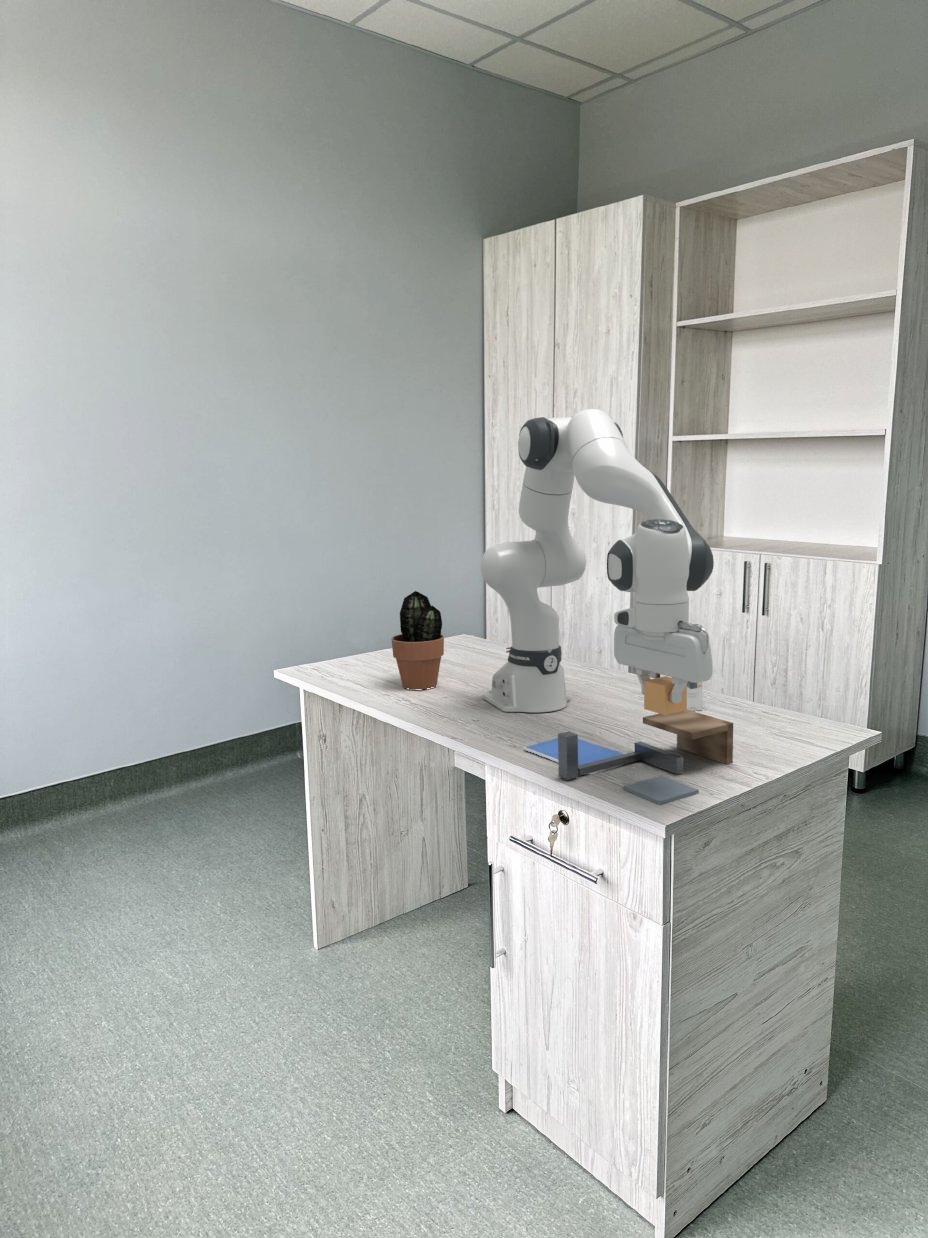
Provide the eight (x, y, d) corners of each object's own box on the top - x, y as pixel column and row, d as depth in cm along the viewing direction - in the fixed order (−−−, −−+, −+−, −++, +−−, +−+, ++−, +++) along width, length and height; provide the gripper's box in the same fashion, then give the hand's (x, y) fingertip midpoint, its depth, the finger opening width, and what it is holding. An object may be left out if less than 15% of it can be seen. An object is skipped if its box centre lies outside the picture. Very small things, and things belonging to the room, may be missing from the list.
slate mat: (623, 789, 157) (623, 785, 157) (661, 778, 161) (661, 775, 161) (659, 804, 149) (659, 801, 149) (698, 793, 154) (698, 789, 154)
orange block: (644, 708, 154) (644, 680, 153) (665, 704, 157) (665, 676, 156) (664, 715, 150) (664, 686, 149) (686, 710, 153) (686, 681, 152)
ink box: (673, 701, 212) (673, 640, 210) (694, 701, 212) (694, 639, 210) (680, 711, 204) (681, 647, 201) (702, 711, 204) (703, 647, 201)
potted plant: (388, 693, 229) (384, 595, 225) (399, 680, 243) (394, 588, 238) (441, 693, 227) (438, 595, 223) (449, 680, 241) (445, 587, 237)
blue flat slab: (637, 763, 172) (637, 756, 172) (589, 778, 165) (589, 771, 164) (568, 740, 187) (568, 734, 187) (521, 753, 180) (521, 746, 180)
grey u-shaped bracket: (558, 776, 163) (558, 733, 162) (638, 755, 173) (638, 715, 172) (600, 795, 154) (600, 750, 152) (682, 772, 163) (683, 729, 162)
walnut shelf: (642, 755, 174) (642, 717, 173) (682, 745, 180) (682, 708, 178) (692, 774, 163) (692, 733, 162) (732, 762, 169) (733, 723, 167)
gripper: (722, 623, 143) (721, 708, 145) (634, 608, 160) (634, 684, 163) (693, 628, 140) (692, 714, 142) (607, 612, 157) (607, 689, 159)
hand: (661, 698), depth 153 cm, fingers closed on orange block, 5 cm apart
